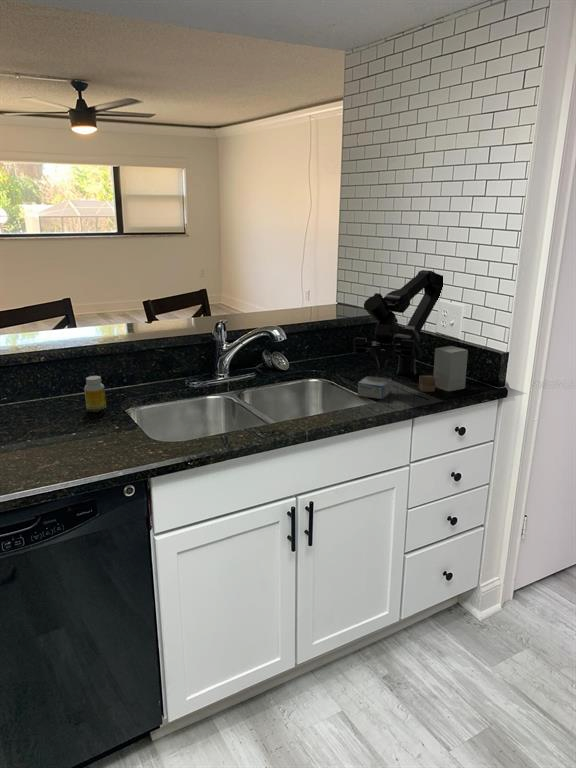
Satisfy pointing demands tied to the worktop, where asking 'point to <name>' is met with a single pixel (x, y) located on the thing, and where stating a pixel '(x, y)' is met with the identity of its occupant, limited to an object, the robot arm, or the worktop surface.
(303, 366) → the worktop surface
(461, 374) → the supplement box
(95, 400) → the supplement bottle
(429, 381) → the walnut block
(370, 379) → the medicine box
